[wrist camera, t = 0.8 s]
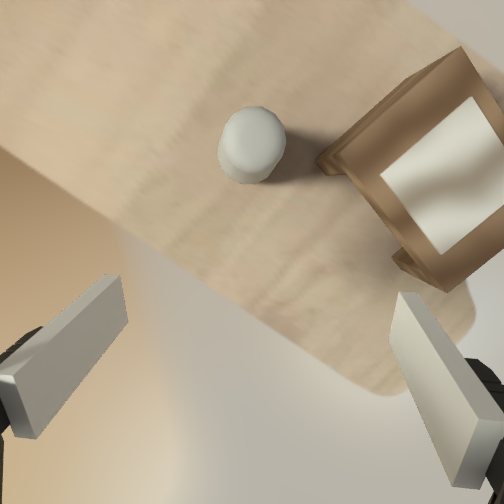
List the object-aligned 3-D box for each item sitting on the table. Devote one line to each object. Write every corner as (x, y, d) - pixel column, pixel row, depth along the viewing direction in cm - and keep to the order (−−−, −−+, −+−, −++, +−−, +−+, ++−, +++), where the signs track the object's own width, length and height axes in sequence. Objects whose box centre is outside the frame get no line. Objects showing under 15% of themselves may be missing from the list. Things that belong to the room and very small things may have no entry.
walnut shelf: (314, 160, 33) (340, 153, 25) (405, 78, 32) (463, 44, 24) (401, 269, 37) (449, 294, 29) (487, 199, 36) (562, 204, 27)
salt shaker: (275, 126, 33) (303, 90, 20) (274, 184, 34) (300, 185, 21) (217, 125, 32) (208, 88, 20) (218, 183, 33) (210, 184, 21)
